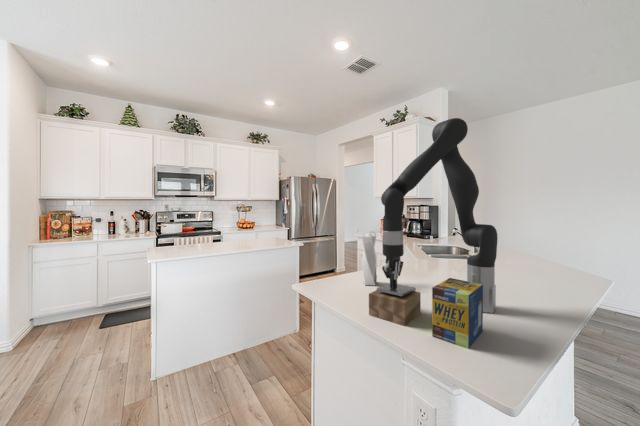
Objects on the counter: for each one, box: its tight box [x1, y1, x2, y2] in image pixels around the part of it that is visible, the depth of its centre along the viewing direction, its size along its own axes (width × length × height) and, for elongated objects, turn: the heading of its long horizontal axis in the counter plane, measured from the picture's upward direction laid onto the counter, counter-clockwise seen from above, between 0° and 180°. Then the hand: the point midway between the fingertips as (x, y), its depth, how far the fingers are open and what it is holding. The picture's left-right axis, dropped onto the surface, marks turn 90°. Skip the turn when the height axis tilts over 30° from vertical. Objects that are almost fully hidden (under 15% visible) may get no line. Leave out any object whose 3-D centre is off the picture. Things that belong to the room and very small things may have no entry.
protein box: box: [431, 277, 484, 349], centre depth 82 cm, size 10×15×16 cm
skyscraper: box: [361, 231, 380, 287], centre depth 136 cm, size 8×8×28 cm
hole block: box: [368, 289, 422, 327], centre depth 98 cm, size 14×14×8 cm
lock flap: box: [376, 283, 417, 296], centre depth 99 cm, size 12×10×1 cm
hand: (393, 288), depth 97 cm, fingers closed
